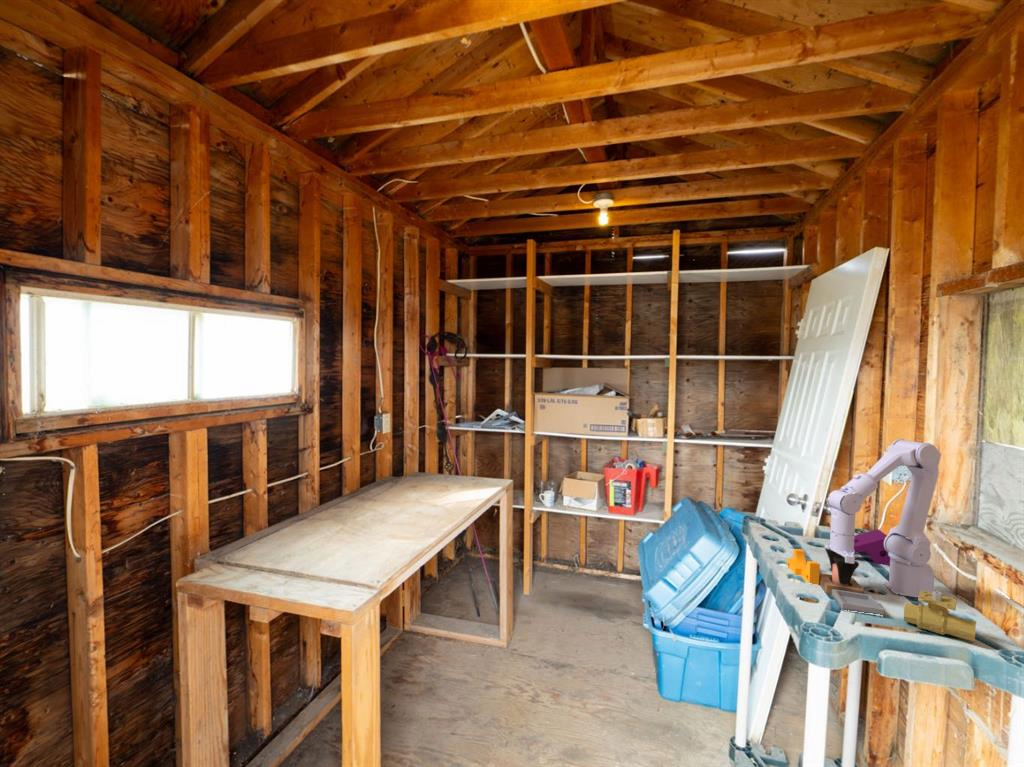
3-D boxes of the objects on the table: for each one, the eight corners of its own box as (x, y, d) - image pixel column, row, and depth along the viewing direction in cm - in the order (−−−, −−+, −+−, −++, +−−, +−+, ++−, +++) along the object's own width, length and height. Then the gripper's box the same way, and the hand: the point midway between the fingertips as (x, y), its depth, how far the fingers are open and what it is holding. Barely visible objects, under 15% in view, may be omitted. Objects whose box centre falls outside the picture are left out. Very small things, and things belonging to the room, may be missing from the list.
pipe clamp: (786, 567, 150) (787, 548, 150) (801, 569, 149) (802, 549, 149) (802, 584, 138) (803, 562, 138) (818, 585, 137) (819, 564, 137)
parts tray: (870, 602, 127) (870, 594, 127) (883, 617, 119) (884, 610, 119) (831, 595, 130) (832, 588, 130) (842, 610, 122) (842, 603, 122)
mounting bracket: (843, 576, 158) (902, 561, 153) (831, 553, 160) (889, 537, 154) (834, 566, 167) (889, 551, 162) (823, 543, 168) (878, 529, 163)
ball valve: (902, 628, 114) (904, 588, 114) (906, 613, 121) (908, 576, 121) (974, 650, 105) (976, 607, 105) (974, 633, 112) (976, 593, 112)
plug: (845, 588, 135) (846, 564, 135) (850, 594, 132) (851, 570, 131) (829, 585, 137) (830, 562, 137) (834, 591, 133) (835, 567, 133)
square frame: (852, 586, 137) (853, 578, 137) (864, 599, 128) (864, 590, 128) (817, 580, 140) (817, 572, 140) (826, 593, 131) (826, 584, 131)
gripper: (819, 523, 142) (817, 567, 142) (834, 538, 128) (832, 586, 129) (846, 526, 140) (844, 571, 140) (864, 542, 126) (862, 591, 126)
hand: (840, 579), depth 134 cm, fingers open, 6 cm apart
